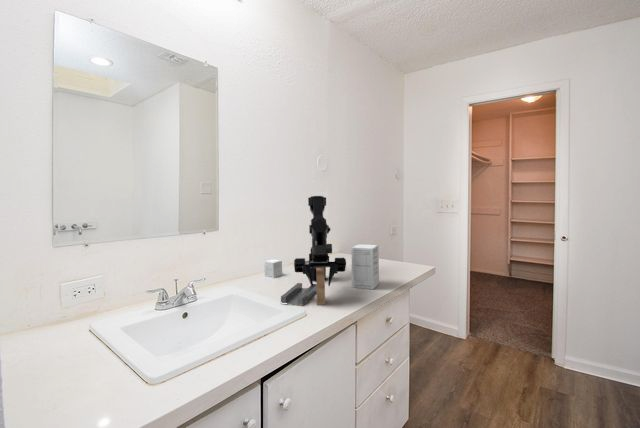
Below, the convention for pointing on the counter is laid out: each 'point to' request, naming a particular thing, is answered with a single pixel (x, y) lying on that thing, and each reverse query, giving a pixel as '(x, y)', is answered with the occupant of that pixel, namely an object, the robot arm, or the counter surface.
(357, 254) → the supplement box
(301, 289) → the bottom track
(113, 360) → the counter surface
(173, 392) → the counter surface
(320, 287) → the brown wooden block
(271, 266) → the product box
